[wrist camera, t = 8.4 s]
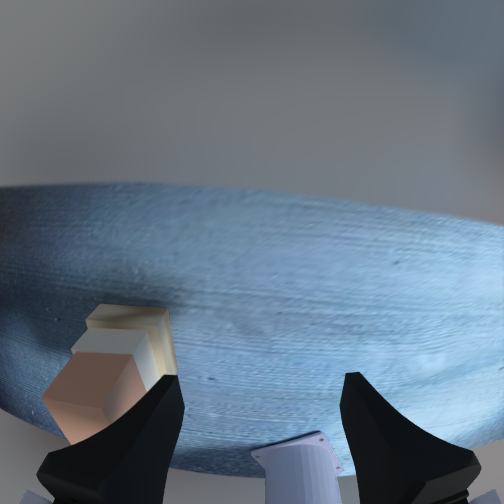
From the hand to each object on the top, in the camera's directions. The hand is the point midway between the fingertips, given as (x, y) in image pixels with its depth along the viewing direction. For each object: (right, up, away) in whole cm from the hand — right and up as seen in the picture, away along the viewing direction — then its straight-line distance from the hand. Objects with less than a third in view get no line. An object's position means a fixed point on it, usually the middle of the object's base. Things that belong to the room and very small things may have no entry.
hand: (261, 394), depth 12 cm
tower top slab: (-10, -2, +9) cm, 14 cm away
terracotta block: (-10, -3, +6) cm, 12 cm away
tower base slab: (-10, -1, +12) cm, 15 cm away
